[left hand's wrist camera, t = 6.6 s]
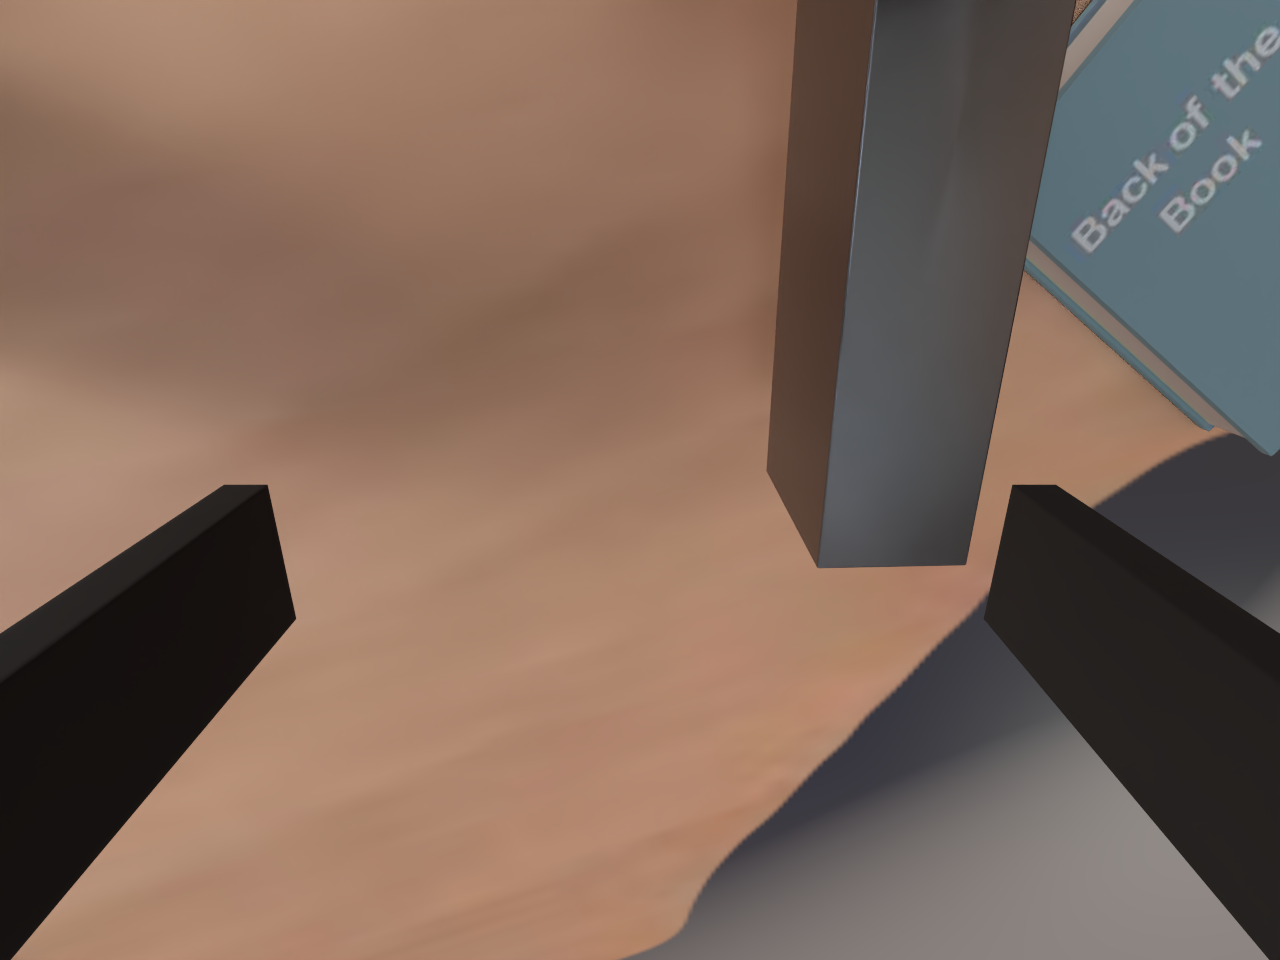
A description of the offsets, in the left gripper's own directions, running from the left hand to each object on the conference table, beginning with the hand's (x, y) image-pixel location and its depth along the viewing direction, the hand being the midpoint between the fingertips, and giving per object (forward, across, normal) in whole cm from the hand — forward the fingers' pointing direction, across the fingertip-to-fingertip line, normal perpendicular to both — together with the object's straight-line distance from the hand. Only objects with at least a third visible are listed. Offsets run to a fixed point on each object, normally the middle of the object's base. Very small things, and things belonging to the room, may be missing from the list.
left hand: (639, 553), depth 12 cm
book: (+29, -30, -6) cm, 42 cm away
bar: (+16, -8, -7) cm, 19 cm away
